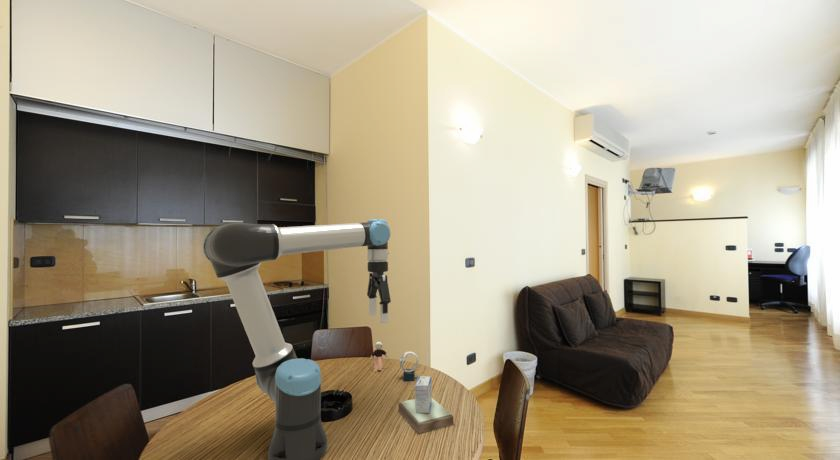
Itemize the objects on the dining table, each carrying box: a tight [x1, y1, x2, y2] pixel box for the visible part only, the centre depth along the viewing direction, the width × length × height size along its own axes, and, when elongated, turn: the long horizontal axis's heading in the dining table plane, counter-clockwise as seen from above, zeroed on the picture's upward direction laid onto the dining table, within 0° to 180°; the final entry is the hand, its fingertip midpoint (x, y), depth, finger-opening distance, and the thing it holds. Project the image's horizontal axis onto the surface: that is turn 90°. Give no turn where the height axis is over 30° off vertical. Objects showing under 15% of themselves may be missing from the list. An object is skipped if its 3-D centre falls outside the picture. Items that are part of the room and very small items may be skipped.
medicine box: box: [414, 375, 433, 413], centre depth 113 cm, size 8×4×9 cm, turn 172°
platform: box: [398, 397, 454, 435], centre depth 112 cm, size 12×16×3 cm
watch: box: [398, 351, 419, 383], centre depth 145 cm, size 6×8×11 cm
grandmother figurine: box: [369, 341, 388, 373], centre depth 155 cm, size 8×4×13 cm, turn 119°
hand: (378, 318), depth 128 cm, fingers open, 13 cm apart
